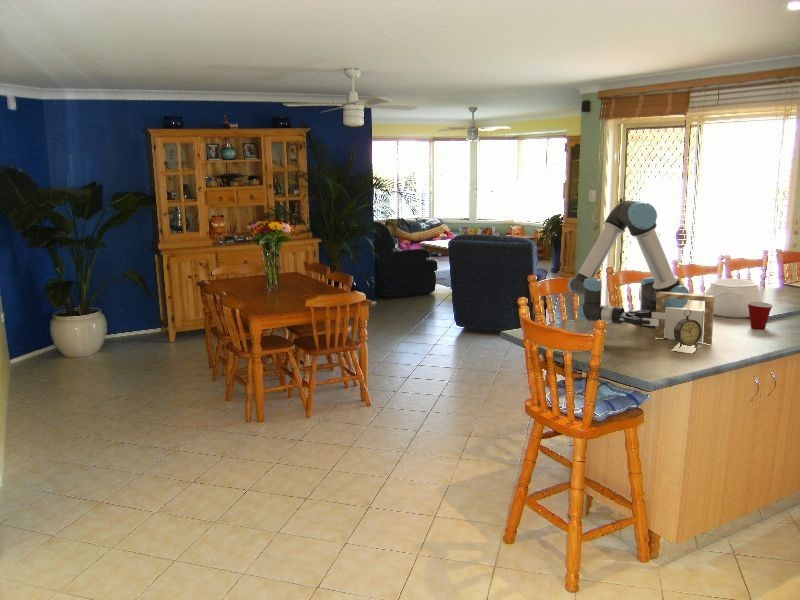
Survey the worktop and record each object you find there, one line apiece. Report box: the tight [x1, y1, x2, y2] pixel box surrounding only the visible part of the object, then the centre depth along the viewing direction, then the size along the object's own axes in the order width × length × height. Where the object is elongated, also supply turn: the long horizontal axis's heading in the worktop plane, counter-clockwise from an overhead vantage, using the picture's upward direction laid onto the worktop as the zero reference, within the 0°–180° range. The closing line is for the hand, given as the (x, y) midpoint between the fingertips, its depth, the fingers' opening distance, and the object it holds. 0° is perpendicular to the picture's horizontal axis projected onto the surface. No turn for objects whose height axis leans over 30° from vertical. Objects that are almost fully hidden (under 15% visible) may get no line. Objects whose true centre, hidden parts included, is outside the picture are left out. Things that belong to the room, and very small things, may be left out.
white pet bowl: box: [705, 278, 764, 319], centre depth 347 cm, size 29×26×16 cm
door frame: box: [654, 291, 715, 345], centre depth 298 cm, size 23×4×21 cm, turn 54°
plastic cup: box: [747, 301, 774, 331], centre depth 316 cm, size 11×11×12 cm
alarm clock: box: [674, 308, 702, 348], centre depth 287 cm, size 11×5×16 cm, turn 105°
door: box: [663, 307, 705, 344], centre depth 299 cm, size 15×2×14 cm, turn 55°
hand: (663, 319), depth 292 cm, fingers open, 13 cm apart
